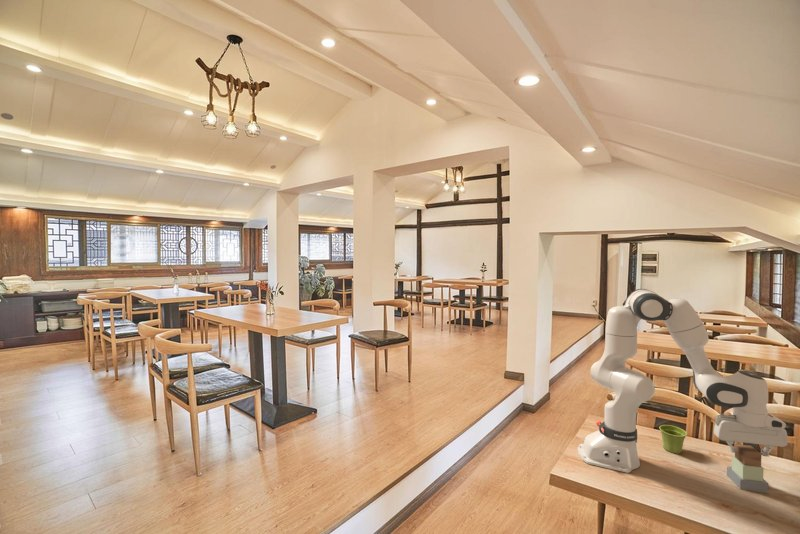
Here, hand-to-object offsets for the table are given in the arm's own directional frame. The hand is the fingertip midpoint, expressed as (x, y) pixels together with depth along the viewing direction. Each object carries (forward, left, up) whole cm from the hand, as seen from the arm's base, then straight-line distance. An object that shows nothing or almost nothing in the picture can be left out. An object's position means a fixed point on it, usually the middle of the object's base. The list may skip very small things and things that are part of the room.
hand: (748, 453), depth 129 cm
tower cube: (0, 0, -8) cm, 8 cm away
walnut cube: (0, 0, -3) cm, 3 cm away
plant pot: (-16, +19, -12) cm, 27 cm away
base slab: (0, 0, -12) cm, 12 cm away
